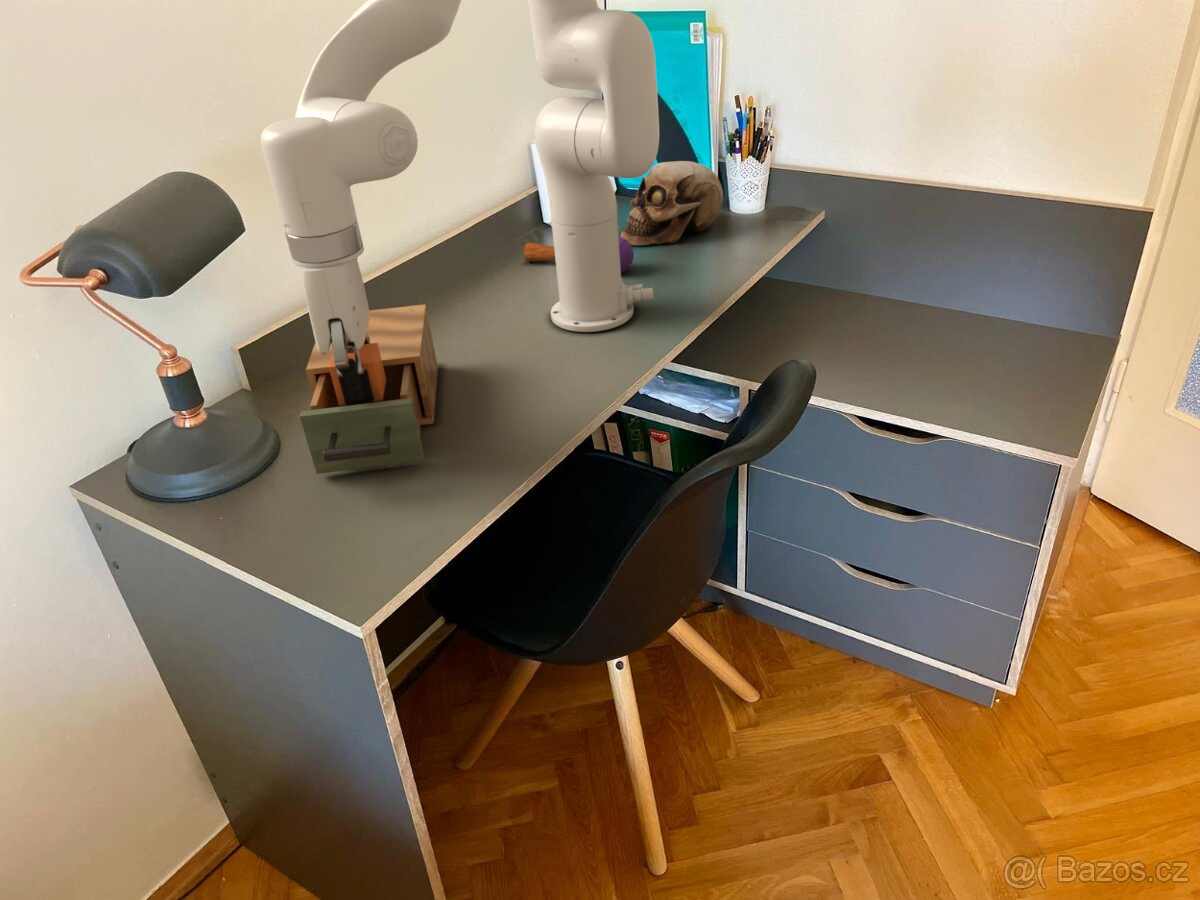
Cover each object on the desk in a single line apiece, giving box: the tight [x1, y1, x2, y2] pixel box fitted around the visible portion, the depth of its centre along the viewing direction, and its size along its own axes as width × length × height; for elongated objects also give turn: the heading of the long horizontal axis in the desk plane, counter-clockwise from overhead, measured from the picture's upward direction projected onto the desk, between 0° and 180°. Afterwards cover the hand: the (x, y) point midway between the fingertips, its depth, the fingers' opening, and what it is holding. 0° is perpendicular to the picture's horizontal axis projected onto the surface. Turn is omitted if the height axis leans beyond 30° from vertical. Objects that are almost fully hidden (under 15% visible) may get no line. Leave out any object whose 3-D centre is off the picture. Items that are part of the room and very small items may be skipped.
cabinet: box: [305, 303, 439, 426], centre depth 117 cm, size 16×14×10 cm
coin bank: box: [619, 160, 724, 247], centre depth 162 cm, size 16×17×13 cm
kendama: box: [523, 236, 635, 273], centre depth 153 cm, size 6×6×20 cm
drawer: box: [299, 362, 425, 475], centre depth 106 cm, size 19×12×8 cm, turn 7°
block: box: [329, 343, 386, 405], centre depth 104 cm, size 5×5×5 cm
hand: (362, 389), depth 105 cm, fingers closed on block, 5 cm apart
